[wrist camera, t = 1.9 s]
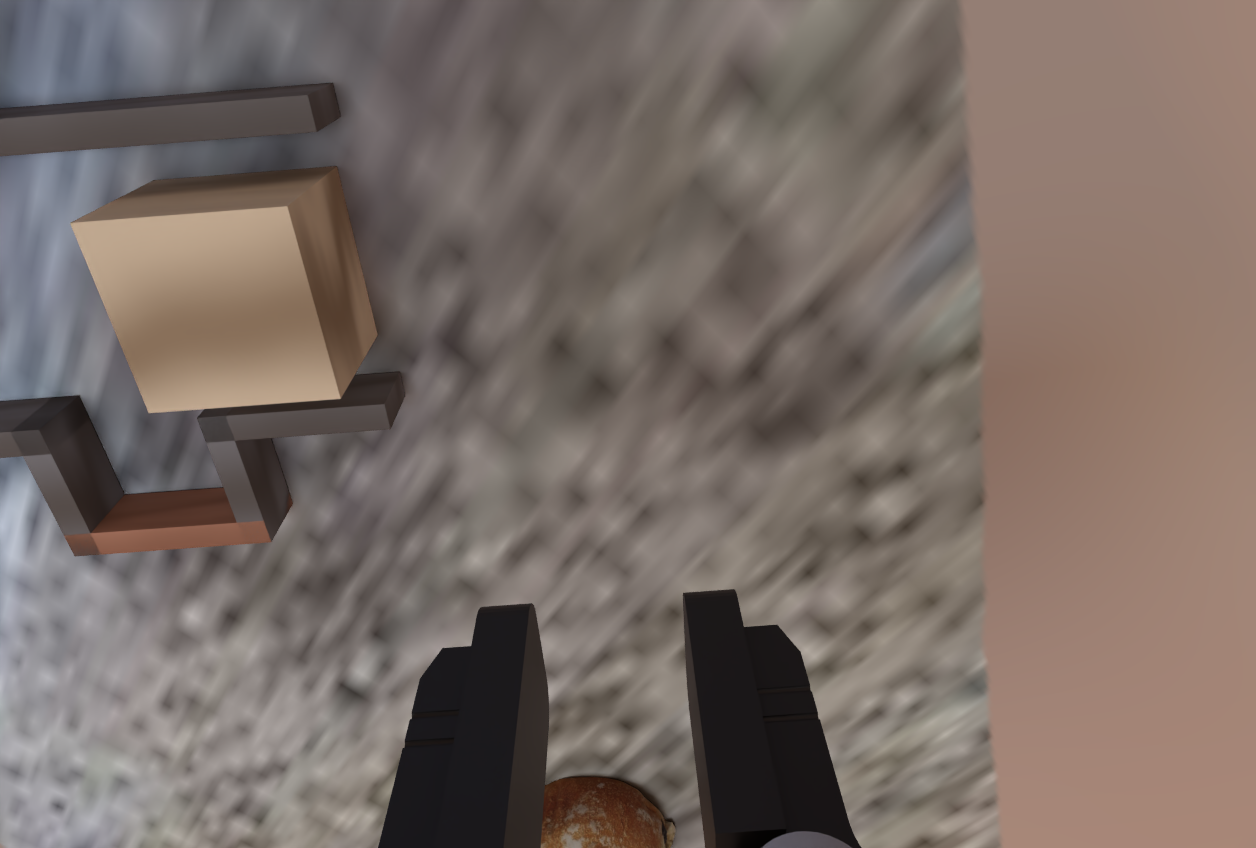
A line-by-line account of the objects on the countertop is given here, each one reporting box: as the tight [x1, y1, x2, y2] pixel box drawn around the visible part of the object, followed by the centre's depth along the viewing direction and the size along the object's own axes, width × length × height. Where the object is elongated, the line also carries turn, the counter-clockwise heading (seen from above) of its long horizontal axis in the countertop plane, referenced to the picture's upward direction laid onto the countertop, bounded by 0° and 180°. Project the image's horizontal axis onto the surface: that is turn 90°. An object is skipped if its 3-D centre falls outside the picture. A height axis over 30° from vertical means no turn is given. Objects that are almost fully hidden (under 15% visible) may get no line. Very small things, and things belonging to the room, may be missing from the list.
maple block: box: [70, 166, 378, 413], centre depth 26 cm, size 6×6×5 cm
